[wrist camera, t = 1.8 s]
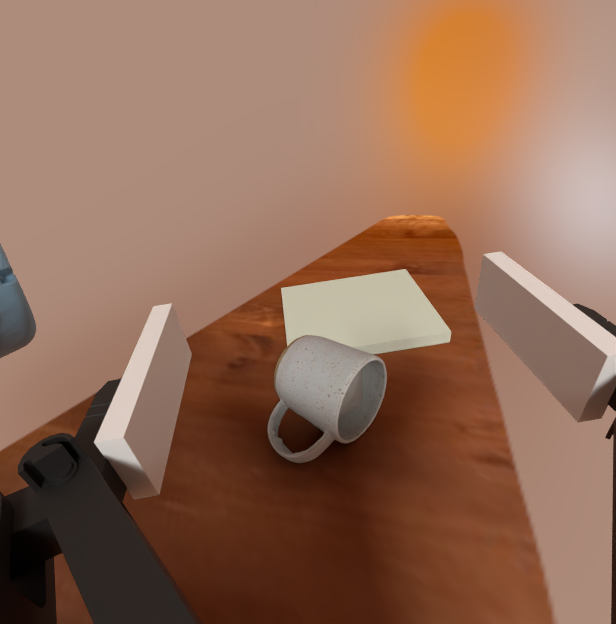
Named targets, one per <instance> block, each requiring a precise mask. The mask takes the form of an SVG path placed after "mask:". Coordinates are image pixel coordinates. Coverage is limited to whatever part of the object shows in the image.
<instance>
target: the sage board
mask: <svg viewBox="0 0 616 624" xmlns="http://www.w3.org/2000/svg"><path fill="white" fill-rule="evenodd" d="M281 291H282V300H283V310H284V319H285V328H286V338H287V346H288V345H289V344H290V343H291V342H293V341H294V340H295V339H297V338H299V337H302V336H305V335H314V336H321V337H324V338H327V339H330V340H333V341H336V342H338V343H341V344H344V345H347V346H350V347H353V348H355V349H358V350H361V351H364V352H367V353H370V354H379V353H385V352H391V351H398V350H404V349H410V348H416V347H423V346H429V345H435V344H441V343H448V342H450V336H451V331H450V329H449V328H448V327H447V325H446V324H445V322H444V321H443V320H442V318H441V317H440V316H439V314H438V313H437V311H436V310H435V309H434V307H433V306H432V305H431V303H430V302H429V300H428V299H427V298H426V296H425V295H424V294H423V292H422V291H421V289H420V288H419V287H418V285H417V284H416V283H415V281H414V280H413V279H412V277H411V276H410V274H409V273H408V272H407V270H406V269H403V270H397V271H390V272H384V273H377V274H371V275H364V276H357V277H351V278H344V279H338V280H331V281H325V282H318V283H312V284H305V285H298V286H292V287H285V288H281Z"/></svg>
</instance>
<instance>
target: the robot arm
mask: <svg viewBox="0 0 616 624" xmlns="http://www.w3.org/2000/svg"><path fill="white" fill-rule="evenodd" d="M474 309H475V310H476V311H477V312H478V313H479V314H480V315H481V316H482V317H483V318H484V320H486V322H487V323H488V324H489V325H490V326H491V327H492V328H493V329H494V331H495V332H496V333H497V334H498V335H499V336H500V337H501V338H502V339H503V341H504V342H505V343H506V344H507V345H508V346H509V347H510V348H511V349H512V350H513V351H514V353H515V354H516V355H517V356H518V357H519V358H520V359H521V360H522V361H523V363H524V364H525V365H526V366H527V367H528V368H529V369H530V370H531V371H532V372H533V374H534V375H535V376H536V377H537V378H538V379H539V380H540V381H541V382H542V383H543V385H544V386H545V387H546V388H547V389H548V390H549V391H550V392H551V393H552V395H553V396H554V397H555V398H556V399H557V400H558V401H559V402H560V403H561V404H562V406H563V407H564V408H565V409H566V410H567V411H568V412H569V413H570V414H571V415H572V416H573V418H574V419H575V420H576V421H577V422H583V421H590V420H595V419H600V418H602V416H603V414H604V412H605V410H606V408H607V406H608V405H609V406H610V407H611V408H613V410H615V411H616V326H615V325H613V324H612V323H611V322H610V321H608V322H607V319H605V318H604V317H602V316H601V315H600V314H598V313H597V312H596V311H594V310H592V309H589V308H587V307H584V306H582V305H580V304H574V305H572V304H571V303H569V302H568V301H566V300H565V299H564V298H563V297H561V296H560V295H559V294H557V293H556V292H554V291H553V290H552V289H551V288H549V287H548V286H547V285H545V284H544V283H542V282H541V281H540V280H539V279H537V278H536V277H534V276H533V275H532V274H531V273H529V272H528V271H526V270H525V269H524V268H522V267H521V266H520V265H518V264H517V263H516V262H514V261H513V260H512V259H510V258H509V257H508V256H506V255H505V254H504V253H502V252H495V253H489V254H484V255H483V260H482V266H481V272H480V278H479V284H478V290H477V296H476V302H475V308H474ZM35 332H36V323H35V320H34V317H33V314H32V311H31V309H30V306H29V304H28V302H27V299H26V297H25V295H24V293H23V290H22V288H21V286H20V284H19V282H18V280H17V278H16V276H15V275H14V274H13V270H12V268H11V266H10V264H9V262H8V259H7V257H6V254H5V252H4V250H3V248H2V246H1V244H0V358H1V357H3V356H6V355H8V354H10V353H12V352H14V351H16V350H18V349H20V348H22V347H24V346H26V345H27V344H28V343H29V342H30V341H31V340H32V339H33V337H34V335H35ZM191 355H192V354H191V351H190V348H189V346H188V343H187V340H186V338H185V335H184V333H183V330H182V327H181V325H180V322H179V319H178V317H177V314H176V312H175V309H174V306H173V304H172V303H171V304H164V305H158V306H154V307H153V309H152V311H151V313H150V316H149V318H148V320H147V322H146V325H145V327H144V329H143V332H142V334H141V336H140V338H139V341H138V343H137V345H136V347H135V350H134V352H133V354H132V357H131V359H130V361H129V364H128V366H127V368H126V370H125V373H124V375H123V377H122V379H118V380H113V381H108V382H107V383H106V384H105V385H104V386H103V387H102V388H101V389H100V390H99V391H98V392H97V394H96V396H95V398H94V400H93V402H92V404H91V408H89V410H88V412H87V414H86V418H84V420H83V422H82V424H81V426H80V428H79V430H78V432H77V434H76V436H75V438H74V437H73V436H72V435H70V434H65V433H60V434H56V435H52V436H49V437H47V438H45V439H43V440H41V441H39V442H38V443H37V444H35V445H34V446H33V447H31V448H30V449H29V450H28V451H27V453H26V454H25V455H24V456H23V457H22V459H21V461H20V463H19V465H18V474H19V475H20V476H21V477H22V478H23V479H24V480H25V481H26V482H27V484H28V485H29V486H28V487H26V488H24V489H21V490H19V491H17V492H14V493H12V494H10V495H7V496H4V495H3V494H2V493H1V492H0V624H57V619H56V596H55V573H54V556H56V555H58V554H61V553H63V555H64V557H65V559H66V561H67V564H68V566H69V568H70V571H71V573H72V575H73V577H74V580H75V582H76V584H77V586H78V589H79V591H80V593H81V595H82V598H83V600H84V602H85V604H86V607H87V609H88V611H89V613H90V616H91V618H92V620H93V623H94V624H202V622H201V621H200V619H199V618H198V616H197V615H196V613H195V611H194V610H193V608H192V607H191V605H190V604H189V602H188V601H187V599H186V598H185V596H184V595H183V593H182V592H181V590H180V589H179V587H178V586H177V584H176V583H175V581H174V580H173V578H172V577H171V575H170V574H169V572H168V571H167V569H166V567H165V566H164V564H163V563H162V561H161V560H160V558H159V557H158V555H157V554H156V552H155V551H154V549H153V548H152V546H151V545H150V543H149V542H148V540H147V539H146V537H145V536H144V534H143V533H142V531H141V530H140V528H139V527H138V525H137V523H136V522H135V520H134V519H133V517H132V516H131V514H130V513H129V511H128V510H127V508H126V507H125V505H124V504H123V503H122V502H123V499H124V496H125V492H126V489H127V490H128V492H129V493H130V495H131V496H132V498H133V499H140V498H146V497H151V496H157V495H159V494H160V490H161V485H162V481H163V477H164V472H165V468H166V464H167V459H168V455H169V451H170V446H171V442H172V438H173V433H174V429H175V425H176V420H177V416H178V412H179V407H180V403H181V399H182V394H183V390H184V386H185V381H186V377H187V373H188V368H189V364H190V360H191ZM613 434H614V444H613V445H614V447H613V451H614V452H613V528H612V529H613V530H612V533H613V534H612V608H611V610H612V611H611V624H616V418H615V420H614V421H613V424H612V425H611V427H610V429H609V431H608V433H607V435H606V438H607V439H610V438H611V436H612V435H613Z"/></svg>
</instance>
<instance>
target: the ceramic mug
mask: <svg viewBox="0 0 616 624" xmlns="http://www.w3.org/2000/svg"><path fill="white" fill-rule="evenodd" d="M386 382H387V371H386V366H385V363H384V362H383V360H382V359H381V358H379V357H378V356H376V355H373V354H370V353H367V352H364V351H361V350H358V349H355V348H353V347H350V346H347V345H344V344H341V343H338V342H336V341H333V340H330V339H327V338H324V337H321V336H314V335H305V336H302V337H299V338H297V339H295V340H294V341H293V342H291V343H290V344H289V345H288V346H287V347H286V348H285V350H284V351H283V353H282V354H281V356H280V358H279V360H278V362H277V365H276V368H275V372H274V388H275V391H276V394H277V395H278V397H279V398H280V401H279V403H278V404H277V405H276V407H275V408H274V409H273V412H272V413H271V415H270V419H269V422H268V438H269V441H270V443H271V445H272V447H273V448H274V449H275V451H276V452H277V453H278V454H279V455H281V456H282V457H284V458H286V459H287V460H289V461H291V462H295V463H303V462H308V461H311V460H313V459H315V458H316V457H318V456H319V455H320V454H321V453H322V452H323V451H324V450H325V449H326V448H328V446H329V445H330V444H331V443H332V442H333V441H334V440H336V441H338V442H340V443H350V442H353V441H354V440H356V439H357V438H359V437H360V436H361V435H362V434H363V433H364V432H365V431H366V429H367V428H368V427H369V426H370V424H371V423H372V421H373V419H374V418H375V416H376V415H377V412H378V410H379V408H380V406H381V403H382V400H383V398H384V393H385V389H386ZM288 408H290V409H292V410H293V411H294V412H296V413H297V414H299V415H300V416H302V417H304V418H305V419H307V420H308V421H309V422H310V423H312V424H313V425H314V426H316V427H317V428H319V429H320V430H321V431H323V432H324V434H323V436H322V437H321V438H320V439H319V440H318V441H317V442H316V443H315V444H314V445H312V446H311V447H310V448H309V449H307V450H305V451H302V452H299V453H298V452H297V453H294V454H293V453H292V452H291V451H290V450H289V449H288V448H287V447H286V446H285V445H284V444H283V440H282V439H281V438H279V437H278V428H279V425H280V422H281V419H282V417H283V415H284V414H285V412H286V411H287V409H288Z"/></svg>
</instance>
